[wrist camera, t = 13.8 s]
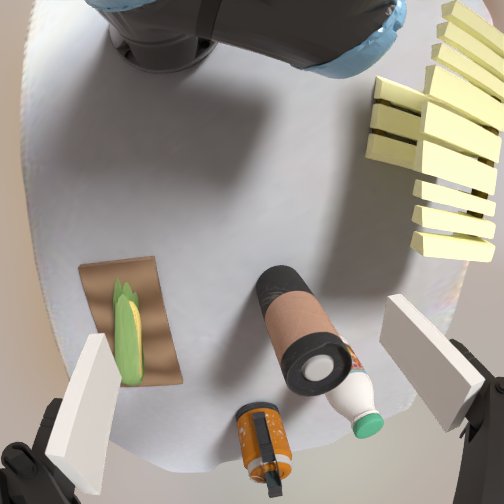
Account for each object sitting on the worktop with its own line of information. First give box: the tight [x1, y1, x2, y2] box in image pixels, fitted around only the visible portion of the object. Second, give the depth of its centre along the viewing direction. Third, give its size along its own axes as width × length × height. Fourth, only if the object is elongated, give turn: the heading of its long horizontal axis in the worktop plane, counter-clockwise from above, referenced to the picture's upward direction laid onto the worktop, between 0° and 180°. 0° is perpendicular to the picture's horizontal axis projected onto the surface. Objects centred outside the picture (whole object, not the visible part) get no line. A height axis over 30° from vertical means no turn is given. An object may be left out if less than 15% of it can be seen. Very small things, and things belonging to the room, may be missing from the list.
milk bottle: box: [325, 335, 384, 439], centre depth 47 cm, size 8×8×20 cm
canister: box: [236, 402, 292, 498], centre depth 51 cm, size 9×11×20 cm
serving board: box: [78, 256, 183, 387], centre depth 48 cm, size 24×12×1 cm, turn 4°
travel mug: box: [257, 265, 352, 396], centre depth 40 cm, size 8×8×20 cm
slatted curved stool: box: [365, 0, 504, 262], centre depth 35 cm, size 30×16×18 cm, turn 172°
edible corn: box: [113, 277, 145, 386], centre depth 45 cm, size 5×20×5 cm
